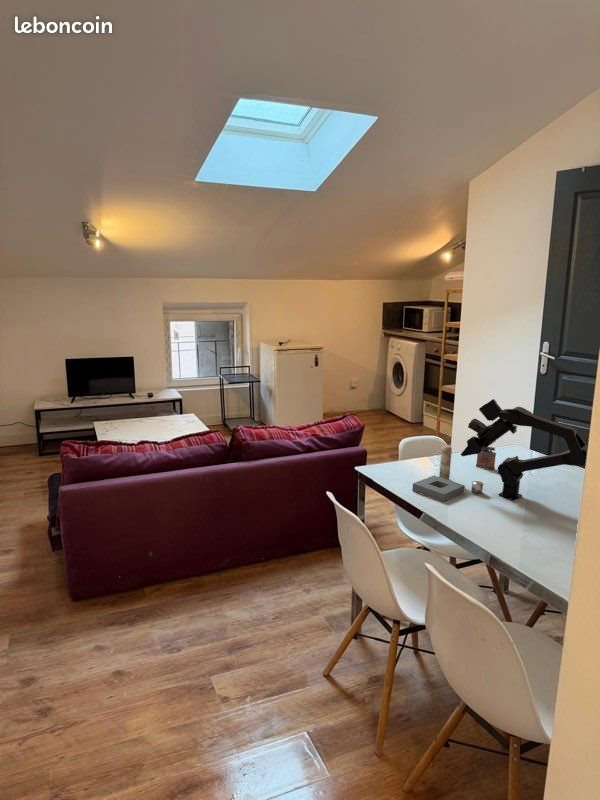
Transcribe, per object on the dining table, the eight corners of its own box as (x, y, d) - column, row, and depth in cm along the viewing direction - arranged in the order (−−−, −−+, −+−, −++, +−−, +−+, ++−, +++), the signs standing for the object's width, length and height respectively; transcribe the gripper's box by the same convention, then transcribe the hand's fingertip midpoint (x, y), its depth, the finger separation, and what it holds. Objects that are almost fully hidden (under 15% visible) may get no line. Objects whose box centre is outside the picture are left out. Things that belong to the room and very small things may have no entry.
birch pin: (442, 477, 219) (445, 445, 216) (451, 480, 216) (453, 447, 213) (437, 479, 216) (439, 446, 213) (445, 482, 213) (448, 449, 210)
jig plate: (433, 482, 213) (434, 475, 212) (464, 492, 203) (464, 485, 202) (412, 490, 204) (412, 483, 203) (443, 501, 194) (443, 494, 193)
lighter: (474, 467, 232) (476, 445, 230) (477, 464, 235) (479, 443, 233) (493, 470, 228) (495, 448, 226) (495, 468, 231) (497, 446, 228)
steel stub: (474, 489, 206) (475, 480, 205) (484, 492, 203) (485, 483, 202) (469, 492, 203) (470, 482, 202) (478, 495, 200) (479, 485, 200)
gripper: (490, 409, 209) (461, 431, 218) (474, 418, 194) (443, 441, 203) (508, 431, 206) (478, 453, 215) (494, 442, 191) (462, 464, 200)
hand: (465, 452), depth 208 cm, fingers open, 9 cm apart
